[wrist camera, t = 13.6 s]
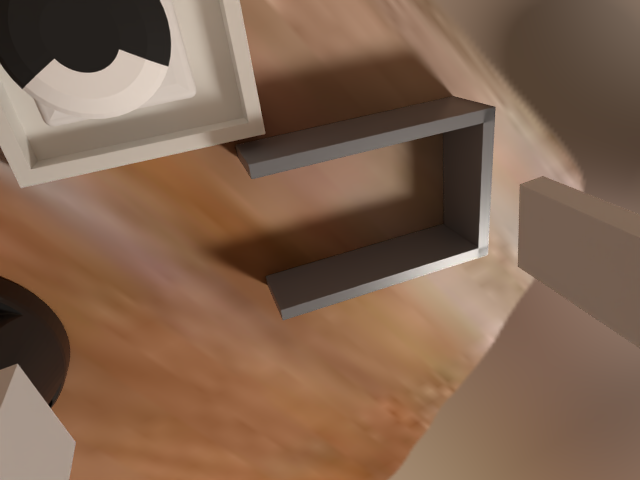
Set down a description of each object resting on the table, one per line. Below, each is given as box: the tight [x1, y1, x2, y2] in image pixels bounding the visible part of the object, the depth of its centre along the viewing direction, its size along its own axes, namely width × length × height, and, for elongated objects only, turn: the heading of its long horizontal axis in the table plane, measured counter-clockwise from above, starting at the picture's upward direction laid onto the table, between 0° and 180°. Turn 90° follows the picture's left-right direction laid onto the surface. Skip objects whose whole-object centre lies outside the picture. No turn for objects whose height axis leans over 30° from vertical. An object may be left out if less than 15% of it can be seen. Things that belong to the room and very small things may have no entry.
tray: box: [0, 0, 265, 188], centre depth 27 cm, size 16×16×3 cm
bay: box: [235, 96, 495, 320], centre depth 37 cm, size 19×13×6 cm
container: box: [0, 0, 196, 126], centre depth 22 cm, size 8×8×13 cm
